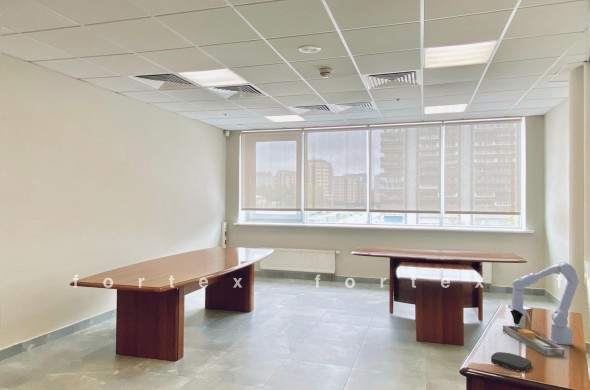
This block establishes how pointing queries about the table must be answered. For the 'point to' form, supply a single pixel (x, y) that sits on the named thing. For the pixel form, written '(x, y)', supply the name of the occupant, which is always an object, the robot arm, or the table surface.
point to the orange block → (526, 333)
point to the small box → (526, 319)
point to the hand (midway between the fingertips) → (516, 323)
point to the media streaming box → (511, 361)
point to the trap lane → (535, 342)
